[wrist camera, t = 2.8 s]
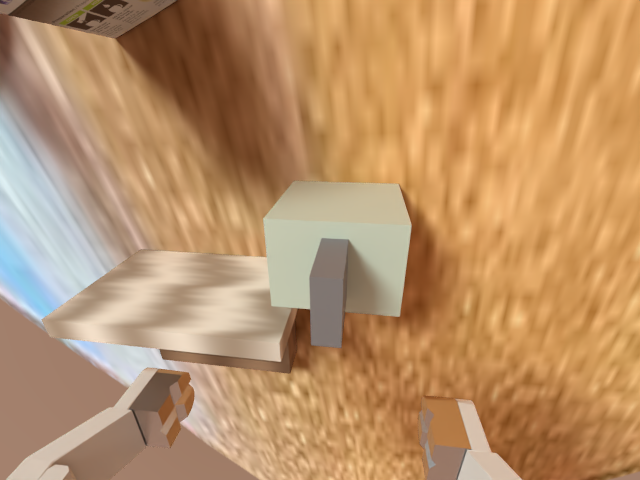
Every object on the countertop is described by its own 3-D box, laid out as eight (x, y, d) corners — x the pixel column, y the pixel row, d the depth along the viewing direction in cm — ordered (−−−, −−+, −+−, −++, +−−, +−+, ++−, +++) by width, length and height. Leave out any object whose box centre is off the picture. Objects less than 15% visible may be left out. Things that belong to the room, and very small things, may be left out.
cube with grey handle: (398, 183, 23) (423, 263, 13) (391, 254, 26) (407, 370, 15) (294, 180, 24) (235, 252, 14) (297, 248, 27) (250, 353, 16)
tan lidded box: (308, 260, 27) (279, 343, 18) (311, 351, 32) (288, 452, 23) (140, 249, 29) (41, 319, 20) (166, 336, 34) (94, 424, 25)
